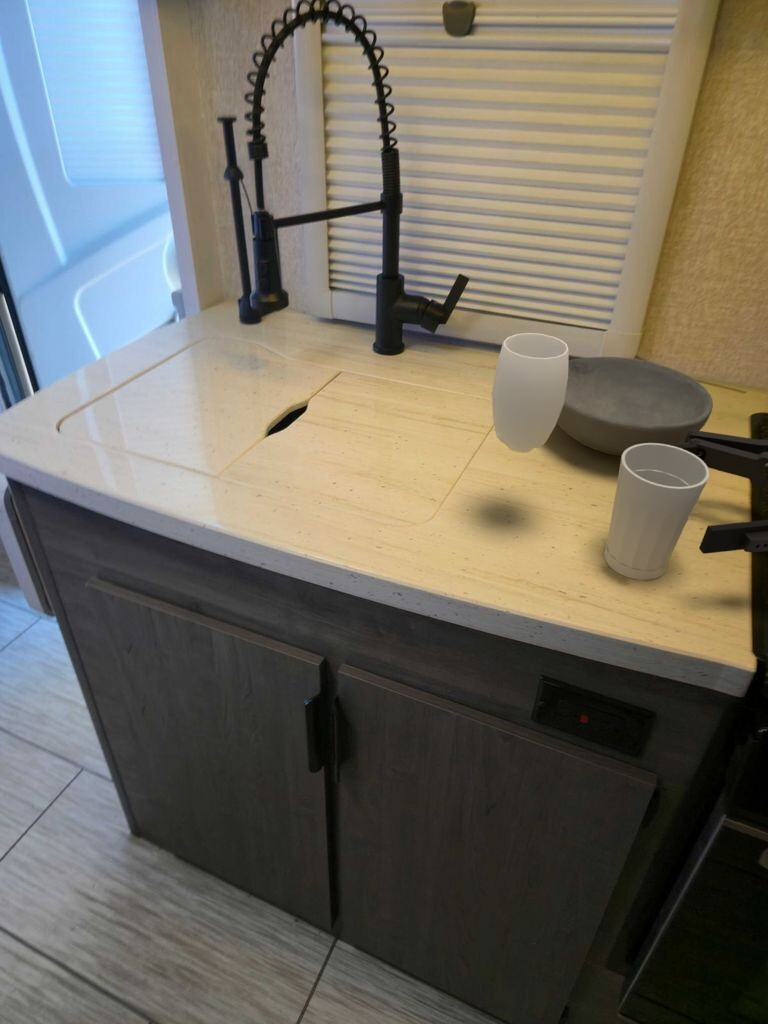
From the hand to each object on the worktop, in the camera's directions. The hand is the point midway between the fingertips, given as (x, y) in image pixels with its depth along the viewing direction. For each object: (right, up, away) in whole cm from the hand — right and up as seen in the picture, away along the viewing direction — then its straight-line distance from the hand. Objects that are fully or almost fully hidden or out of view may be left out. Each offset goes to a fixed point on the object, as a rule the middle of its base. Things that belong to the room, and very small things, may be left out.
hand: (667, 496), depth 66 cm
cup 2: (-2, -7, +5) cm, 8 cm away
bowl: (+3, +8, +25) cm, 26 cm away
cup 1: (-14, -2, +10) cm, 18 cm away
